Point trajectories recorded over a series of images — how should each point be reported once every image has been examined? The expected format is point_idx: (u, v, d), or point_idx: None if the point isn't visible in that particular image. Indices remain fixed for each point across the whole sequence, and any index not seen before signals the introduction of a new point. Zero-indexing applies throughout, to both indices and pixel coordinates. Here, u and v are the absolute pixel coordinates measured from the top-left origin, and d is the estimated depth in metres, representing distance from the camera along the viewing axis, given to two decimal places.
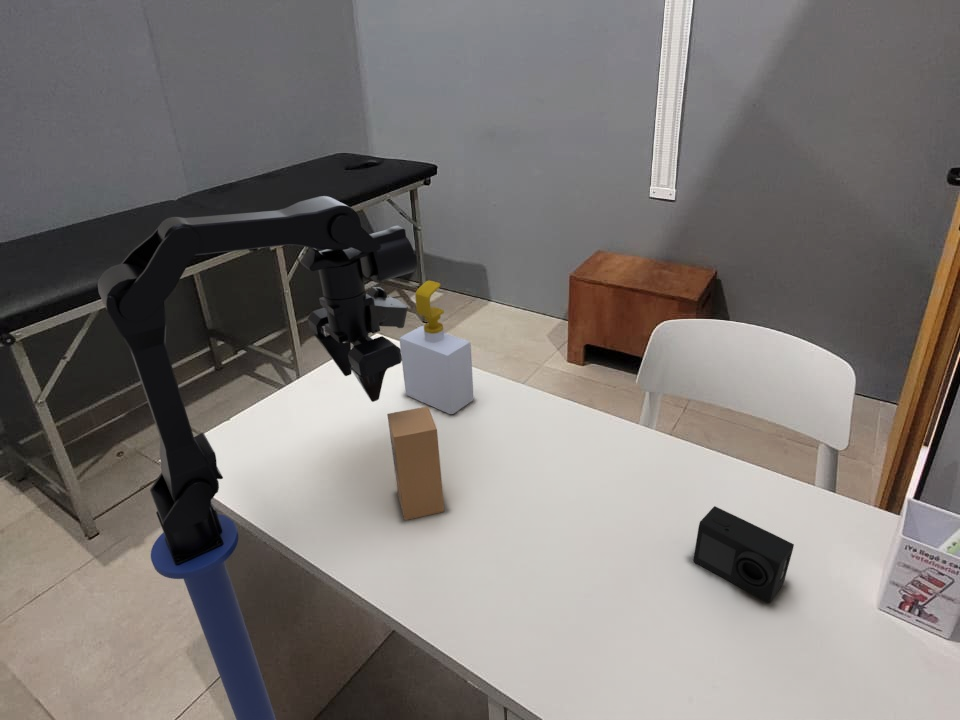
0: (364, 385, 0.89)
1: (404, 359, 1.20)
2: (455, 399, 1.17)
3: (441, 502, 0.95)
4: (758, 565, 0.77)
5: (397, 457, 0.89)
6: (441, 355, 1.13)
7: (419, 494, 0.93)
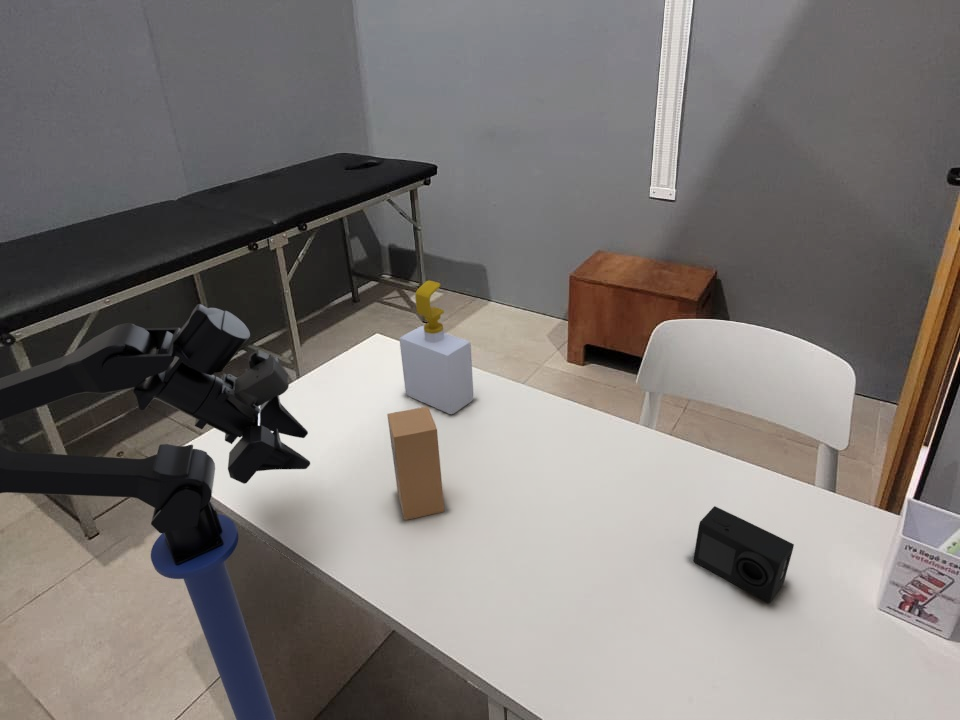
0: (275, 468, 0.83)
1: (404, 359, 1.20)
2: (455, 399, 1.17)
3: (441, 502, 0.95)
4: (758, 565, 0.77)
5: (397, 457, 0.89)
6: (441, 355, 1.13)
7: (419, 494, 0.93)
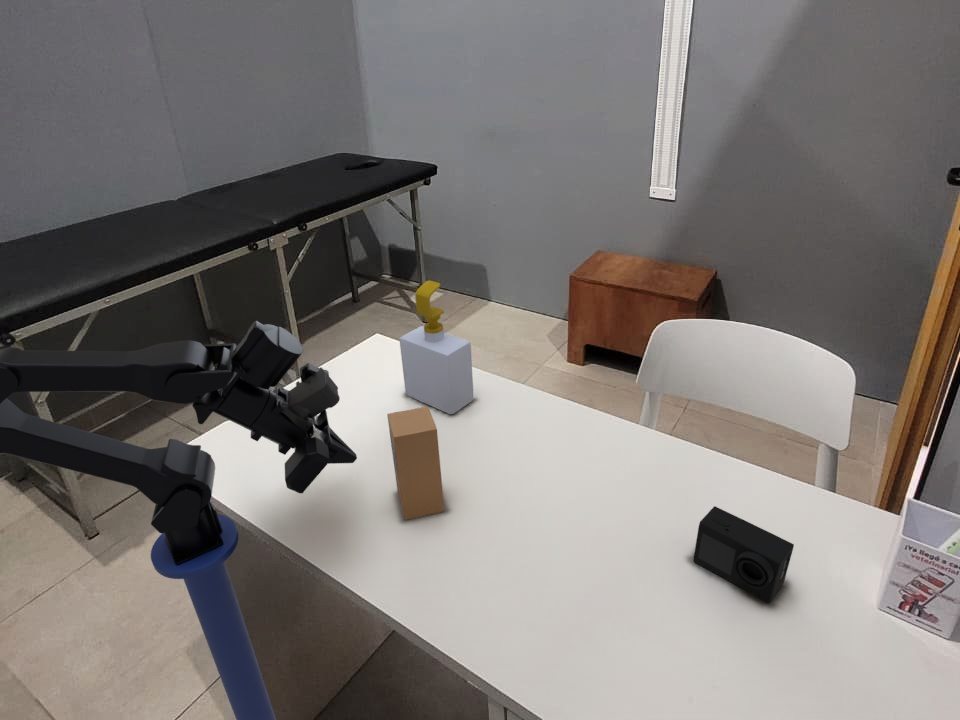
0: None
1: (404, 359, 1.20)
2: (455, 399, 1.17)
3: (441, 502, 0.95)
4: (758, 565, 0.77)
5: (397, 457, 0.89)
6: (441, 355, 1.13)
7: (419, 494, 0.93)
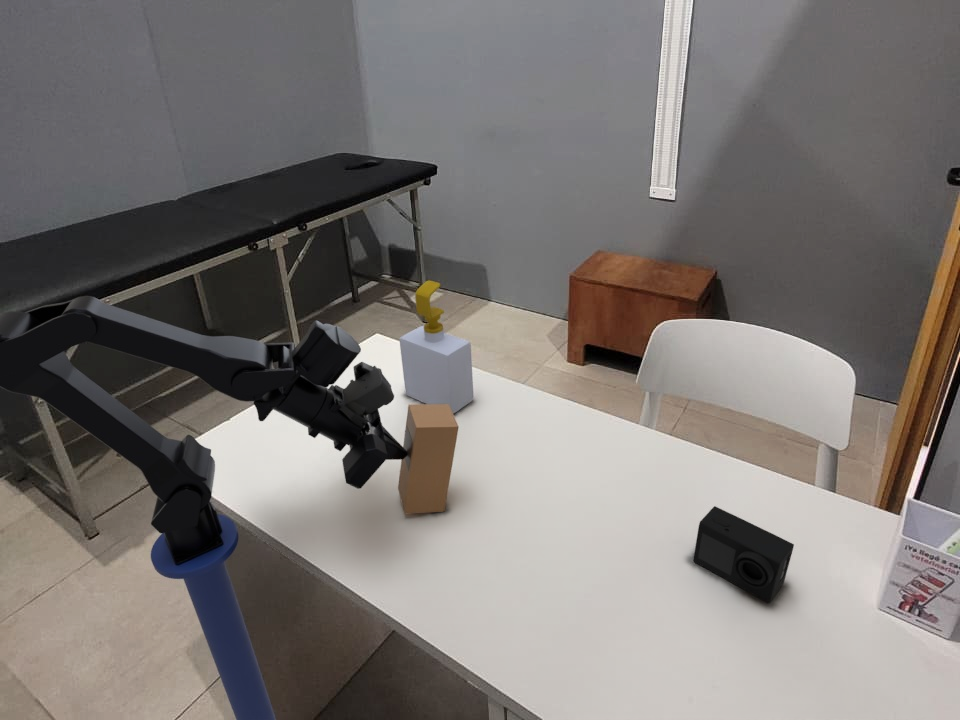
0: None
1: (404, 359, 1.20)
2: (455, 399, 1.17)
3: (444, 501, 0.95)
4: (758, 565, 0.77)
5: (414, 448, 0.89)
6: (441, 355, 1.13)
7: (425, 489, 0.93)
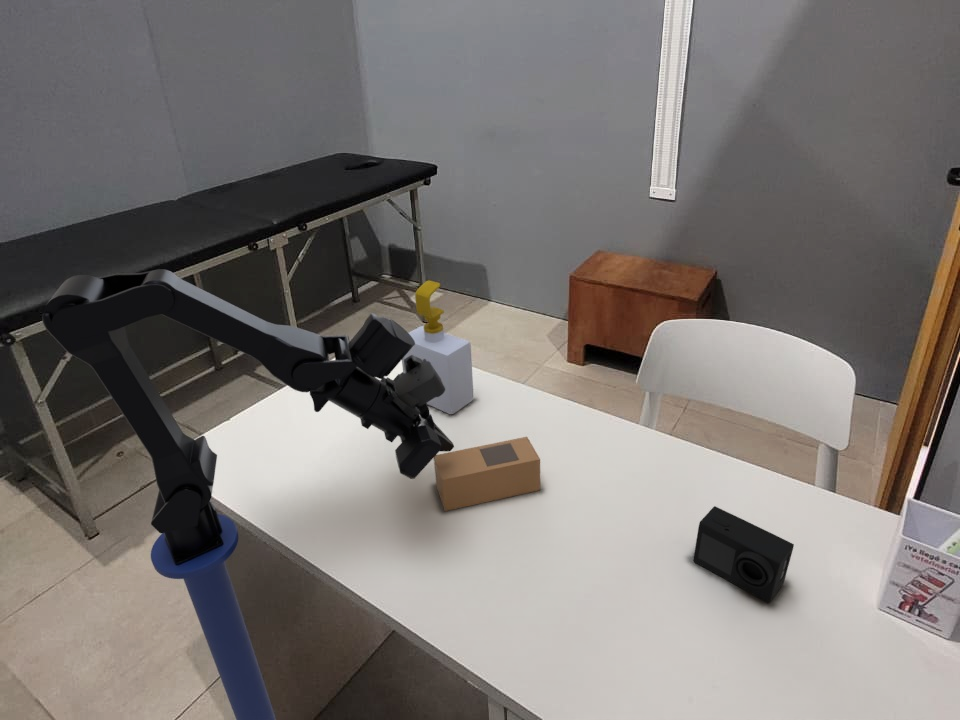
0: None
1: None
2: (455, 399, 1.17)
3: (457, 507, 0.96)
4: (758, 565, 0.77)
5: (518, 464, 0.96)
6: (441, 355, 1.13)
7: (472, 487, 0.95)
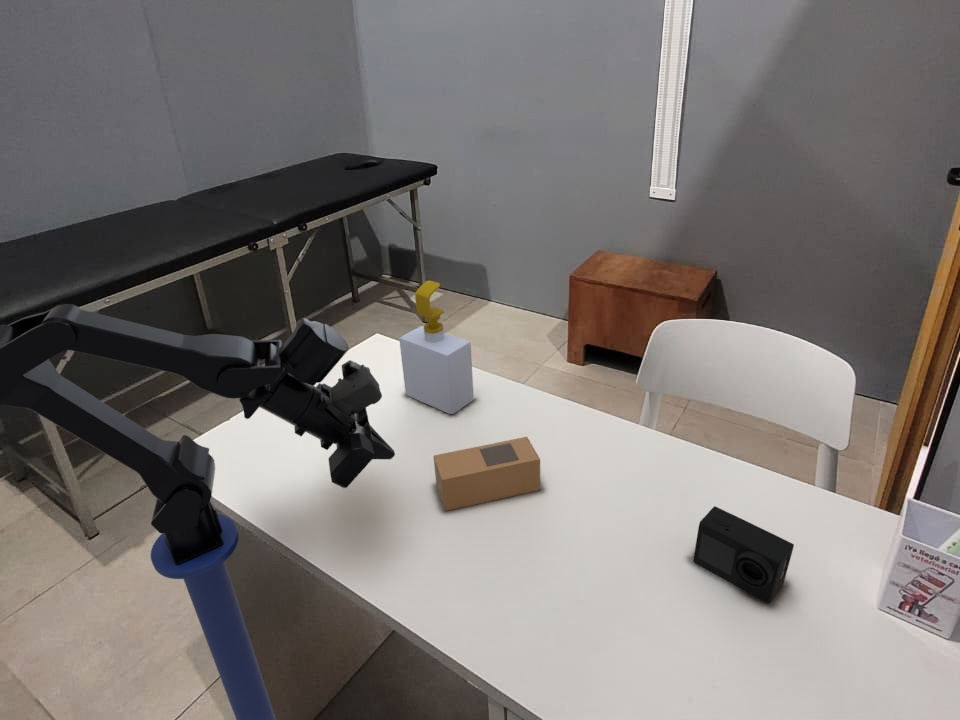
0: None
1: (404, 359, 1.20)
2: (455, 399, 1.17)
3: (457, 507, 0.96)
4: (758, 565, 0.77)
5: (518, 464, 0.96)
6: (441, 355, 1.13)
7: (472, 487, 0.95)
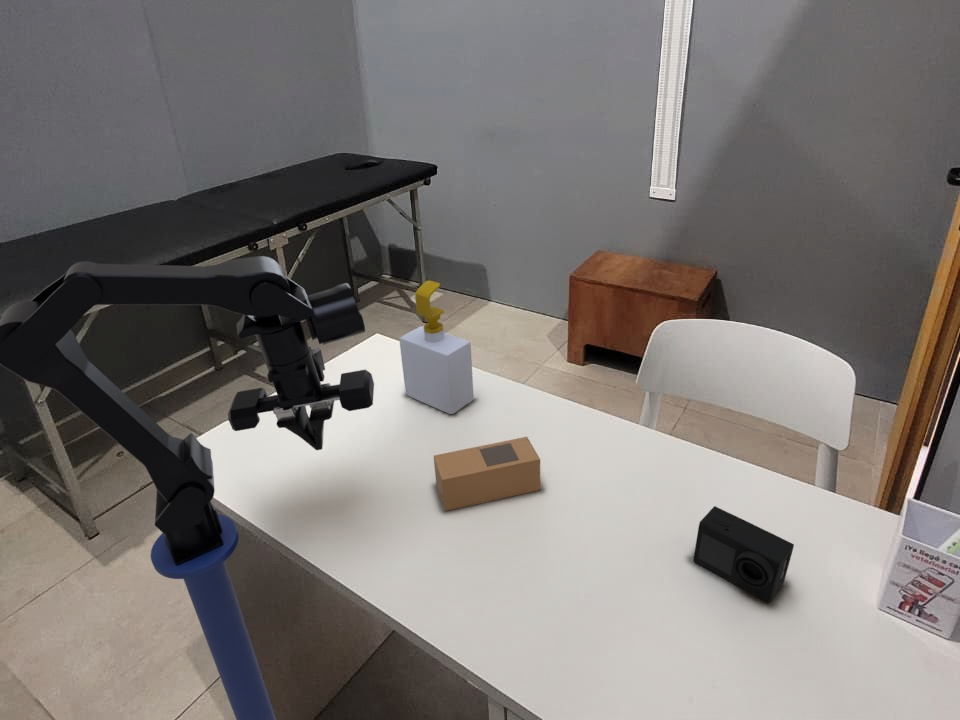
0: (322, 431, 0.88)
1: (404, 359, 1.20)
2: (455, 399, 1.17)
3: (457, 507, 0.96)
4: (758, 565, 0.77)
5: (518, 464, 0.96)
6: (441, 355, 1.13)
7: (472, 487, 0.95)
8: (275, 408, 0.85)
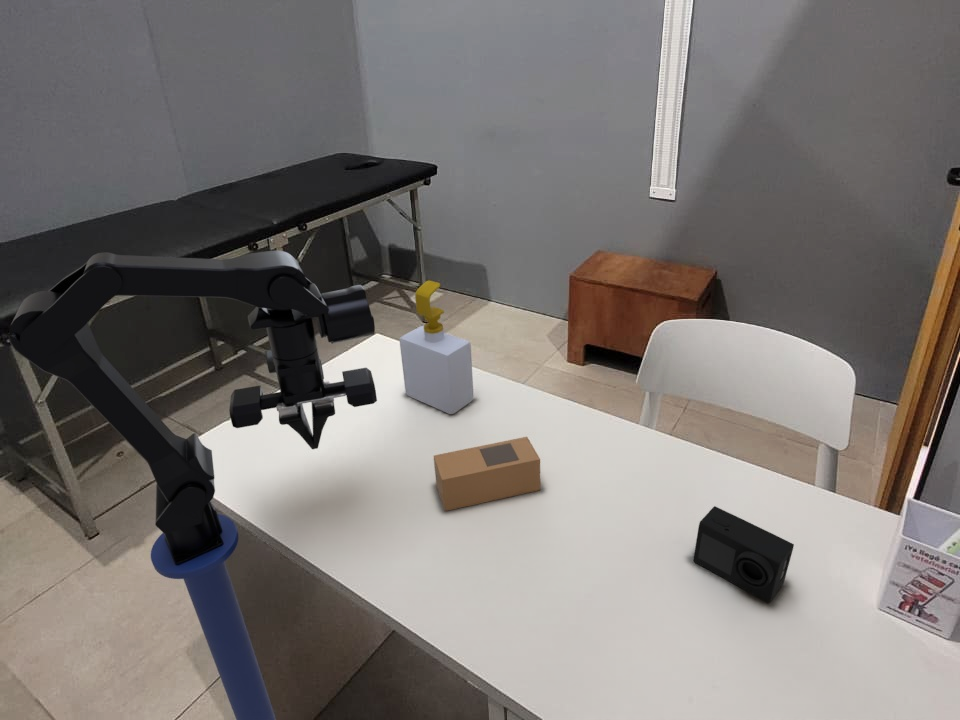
0: None
1: (404, 359, 1.20)
2: (455, 399, 1.17)
3: (457, 507, 0.96)
4: (758, 565, 0.77)
5: (518, 464, 0.96)
6: (441, 355, 1.13)
7: (472, 487, 0.95)
8: (278, 405, 0.85)
